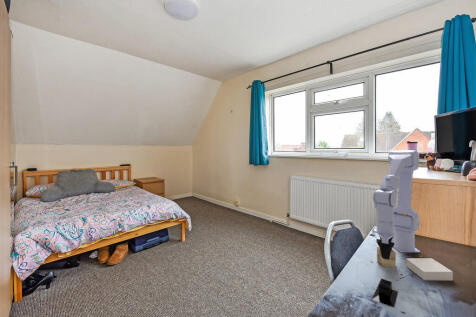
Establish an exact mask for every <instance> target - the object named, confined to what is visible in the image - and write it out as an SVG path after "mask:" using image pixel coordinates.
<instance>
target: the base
mask: <svg viewBox="0 0 476 317" xmlns="http://www.w3.org/2000/svg"><path fill="white" fill-rule="evenodd" d="M405 260H406V261H405V263H406V264H405V265H406V268H408V269H409V270H411V271H412V272H413V273H414V274H416V275H417V276H418V277H420V278H421V279H422V280H424V281H454V272H453V271H452V270H451V269H449V268H447V267H446V266H444V265H443V264H441V263H440V262H438V261H436V260H435V259H433V258H430V257H429V258H425V257H424V258H419V257H418V258H413V257H412V258H405Z"/></svg>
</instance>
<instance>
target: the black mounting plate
mask: <svg viewBox="0 0 476 317" xmlns="http://www.w3.org/2000/svg"><path fill="white" fill-rule="evenodd" d="M398 295H399V291H398V290H396V289H393V282H392V281H391V280H387V279H384V278H380V280H379V282H378V284H377V287H376V289H375V291H374V293H373V296H372V297H373V298H371V300H372V299H373V300H372V301H375V302H378V303H381V304H383V305H385V306H388V307H390V306H391V308H393V307H394V308H395V306H396V302H397V301H396V300H397V297H398Z"/></svg>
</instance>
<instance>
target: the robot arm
mask: <svg viewBox="0 0 476 317" xmlns="http://www.w3.org/2000/svg"><path fill="white" fill-rule="evenodd" d="M387 159H388V163H389V165H390V166H389V170H388V173H387V175H385V176H383V178H382V181H381V183H380V185H379V187H378V189H377V190H375V191H374V192H373V195H372V201H373V203H374V209H375V211H376V212H375V214H376V217H375V218H376V219H375V220H376V229H375V228H374V229H373V230H372V232H373V233H376V234H377V235H378V236H379V238H376V240H375V241H376V244H377V247H379V248H380V251H381V255H382V258H383V259H387V260H389V258H390V254H391V250H393V248H394V249H396V250H397V251H399V252H400V253H421V251H420V250H419V249H418V248H416V244H415V243H416V239H415V235H416V234H415V232H416V231H418V230H419V227H420V216H419V213H418V212H417V211H416V210H415V209H413V208H412V197H413V196H412V194H413V193H412V190H413V177H414V171H417V170H419V164H420V162H419V161H420V156H419V152H418V151H417V150H414V149H413V150H390V151H389V152H388V156H387ZM397 192H398V193H397ZM396 204H397V206H395V205H396ZM394 206H395V207H394Z"/></svg>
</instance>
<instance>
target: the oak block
mask: <svg viewBox="0 0 476 317" xmlns="http://www.w3.org/2000/svg"><path fill="white" fill-rule="evenodd" d="M396 256H397V254H396V251H395V250H394V249H392V250H391V254H390V258H389V260H387V259H383V258H382V255H381V251H380V248H379V246H376V261H377V263H379V265H380V266H382V267H383V268H397V257H396Z"/></svg>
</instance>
